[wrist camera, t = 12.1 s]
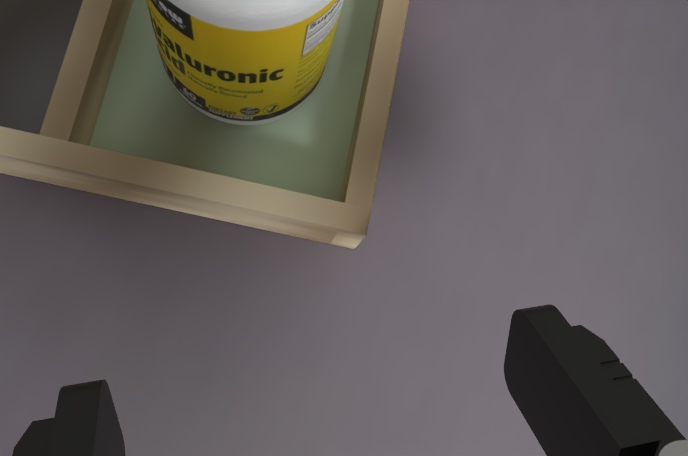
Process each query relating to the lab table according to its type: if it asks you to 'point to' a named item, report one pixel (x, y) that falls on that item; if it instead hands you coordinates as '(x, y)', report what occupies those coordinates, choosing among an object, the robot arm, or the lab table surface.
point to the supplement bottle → (244, 53)
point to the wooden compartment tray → (194, 120)
